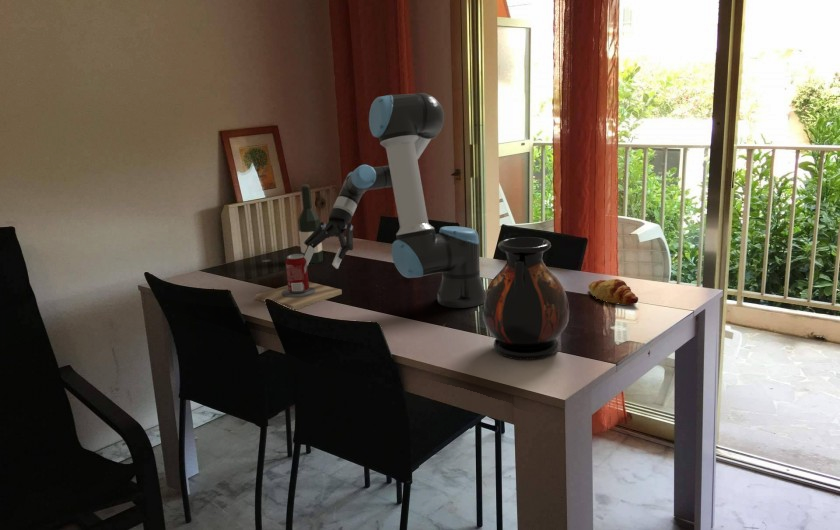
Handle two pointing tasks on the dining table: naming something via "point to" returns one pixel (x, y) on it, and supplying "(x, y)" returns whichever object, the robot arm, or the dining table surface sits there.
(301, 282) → the soda can
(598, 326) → the dining table surface
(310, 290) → the oak board
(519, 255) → the ceramic vase
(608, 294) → the croissant
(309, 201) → the wine bottle
